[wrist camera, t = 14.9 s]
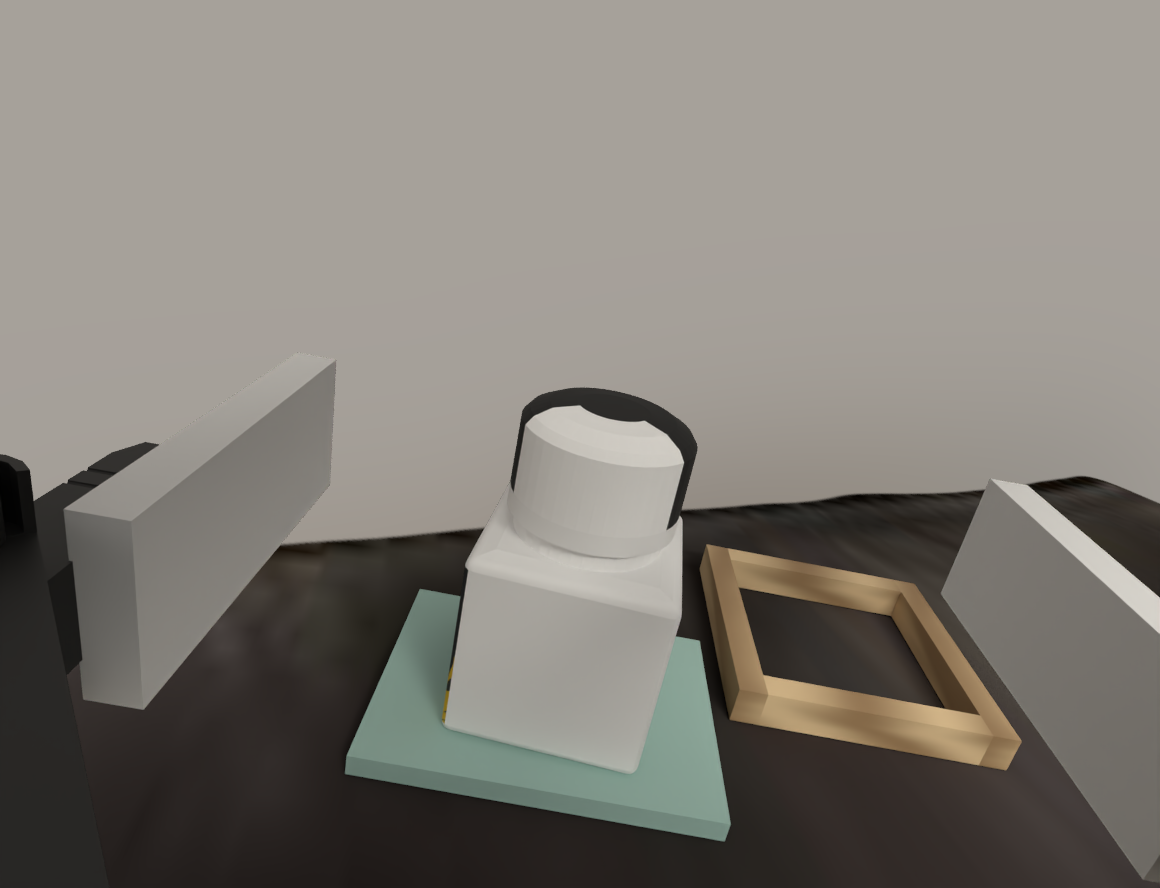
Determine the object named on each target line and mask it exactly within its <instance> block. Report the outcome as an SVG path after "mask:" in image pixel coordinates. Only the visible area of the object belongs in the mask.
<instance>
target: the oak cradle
mask: <svg viewBox="0 0 1160 888" xmlns="http://www.w3.org/2000/svg"><path fill="white" fill-rule="evenodd" d="M700 574H701V579H702V584H703V589H704V594H705V599H706V604H707V609H708V614H709V619H710V624H711V629H712V634H713V639H714V644H715V649H716V654H717V659H718V665H719V670H720V675H721V680H722V685H723V690H724V695H725V700H726V705H727V710H728V715H729V720H734V721H739V722H744V723H750V724H755V725H761V726H766V727H772V728H777V729H783V730H788V731H794V732H799V733H805V734H810V735H816V736H821V737H826V738H832V739H837V740H843V741H848V742H854V743H859V744H865V745H870V746H876V747H881V748H887V749H892V750H897V751H903V752H908V753H914V754H919V755H925V756H930V757H936V758H941V759H947V760H952V761H958V762H963V763H969V764H974V765H979V766H985V767H990V768H996V769H1001V770H1007V768H1008V766H1009V764H1010V762H1011V761H1012V759H1013V757H1014V755H1015V753H1016V751H1017V749H1018V748H1019V746H1020V744H1021V742H1022V741H1021V740H1020V738H1019V737H1018V735H1017V734H1016V732H1015V731H1014V729H1013V728H1012V726H1011V725H1010V723H1009V722H1008V720H1007V719H1006V718H1005V716H1004V715H1003V713H1002V712H1001V710H1000V709H999V707H998V706H997V704H996V703H995V701H994V700H993V698H992V697H991V695H990V694H989V693H988V691H987V690H986V688H985V687H984V685H983V684H982V682H981V681H980V679H979V678H978V676H977V675H976V673H975V672H974V671H973V669H972V668H971V666H970V665H969V663H968V662H967V660H966V659H965V657H964V656H963V654H962V653H961V651H960V650H959V649H958V647H957V646H956V644H955V643H954V641H953V640H952V638H951V637H950V635H949V634H948V632H947V631H946V629H945V628H944V627H943V625H942V624H941V622H940V621H939V619H938V618H937V616H936V615H935V613H934V612H933V610H932V609H931V607H930V606H929V605H928V603H927V602H926V600H925V599H924V597H923V596H922V594H921V593H920V591H919V590H918V588H917V587H916V585H915V584H913V583H907V582H902V581H897V580H891V579H886V578H881V577H876V576H870V575H865V574H860V573H855V572H849V571H844V570H839V569H834V568H828V567H823V566H818V565H813V564H807V563H802V562H797V561H791V560H786V559H781V558H776V557H770V556H765V555H760V554H755V553H749V552H744V551H739V550H734V549H728V548H723V547H718V546H712V545H706V548H705V552H704V555H703V558H702V562H701V565H700ZM739 587H740V588H745V589H750V590H756V591H761V592H766V593H772V594H777V595H782V596H787V597H793V598H798V599H803V600H809V601H814V602H819V603H825V604H830V605H835V606H841V607H846V608H851V609H856V610H862V611H867V612H872V613H878V614H883V615H888V616H891V617H892V618H893V620H894V622H895V623H896V625H897V627H898V629H899V630H900V632H901V634H902V635H903V637H904V639H905V641H906V642H907V644H908V646H909V647H910V649H911V651H912V652H913V654H914V656H915V658H916V659H917V661H918V663H919V664H920V666H921V668H922V670H923V671H924V673H925V675H926V676H927V678H928V680H929V681H930V683H931V685H932V687H933V688H934V690H935V692H936V693H937V695H938V697H939V699H940V700H941V702H942V704H943V705H944V707H945V709H942V708H937V707H932V706H926V705H921V704H915V703H910V702H905V701H899V700H894V699H888V698H883V697H878V696H872V695H867V694H861V693H856V692H851V691H845V690H840V689H834V688H829V687H824V686H818V685H813V684H807V683H802V682H797V681H791V680H786V679H780V678H775V677H770V676H764V675H763V673H762V670H761V666H760V662H759V659H758V655H757V652H756V648H755V645H754V641H753V637H752V634H751V630H750V627H749V623H748V619H747V616H746V612H745V609H744V605H743V601H742V598H741V594H740V591H739Z"/></svg>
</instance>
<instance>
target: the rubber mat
mask: <svg viewBox="0 0 1160 888" xmlns="http://www.w3.org/2000/svg"><path fill="white" fill-rule="evenodd" d="M459 602H460V596H455V595H450V594H445V593H439V592H434V591H429V590H423V589H420V590H419V592H418V595H417V597H416V599H415V601H414V604H413V606H412V608H411V610H410V613H409V615H408V617H407V620H406V622H405V624H404V626H403V629H402V631H401V633H400V635H399V638H398V640H397V642H396V645H395V647H394V649H393V651H392V654H391V656H390V658H389V661H388V663H387V665H386V667H385V670H384V672H383V674H382V676H381V679H380V681H379V683H378V686H377V688H376V690H375V692H374V695H373V697H372V699H371V701H370V704H369V706H368V708H367V711H366V713H365V715H364V717H363V720H362V722H361V724H360V726H359V729H358V731H357V733H356V736H355V738H354V740H353V742H352V745H351V747H350V749H349V751H348V754H347V757H346V767H345V774H348V775H354V776H360V777H365V778H371V779H377V780H382V781H388V782H393V783H399V784H405V785H410V786H416V787H421V788H427V789H433V790H438V791H444V792H450V793H455V794H461V795H466V796H472V797H478V798H483V799H489V800H494V801H500V802H506V803H511V804H517V805H523V806H528V807H534V808H539V809H545V810H551V811H556V812H562V813H567V814H573V815H579V816H584V817H590V818H596V819H601V820H607V821H612V822H618V823H624V824H629V825H635V826H640V827H646V828H652V829H657V830H663V831H669V832H674V833H680V834H685V835H691V836H697V837H702V838H708V839H714V840H719V841H725V839H726V836H727V833H728V831H729V828H730V825H731V823H730V817H729V811H728V805H727V800H726V794H725V788H724V782H723V776H722V770H721V764H720V758H719V752H718V747H717V741H716V735H715V729H714V723H713V717H712V711H711V705H710V700H709V694H708V688H707V682H706V676H705V670H704V664H703V658H702V652H701V647H700V641H697V640H692V639H687V638H681V637H675V640H674V644H673V647H672V651H671V654H670V658H669V661H668V665H667V668H666V672H665V675H664V679H663V682H662V686H661V689H660V693H659V696H658V699H657V703H656V706H655V710H654V713H653V717H652V720H651V724H650V727H649V731H648V734H647V738H646V741H645V745H644V748H643V752H642V755H641V758H640V762H639V765H638V768H637V769H636V771H635V772H634V773H632V774H625V773H621V772H617V771H613V770H609V769H605V768H601V767H597V766H593V765H589V764H585V763H581V762H577V761H573V760H569V759H565V758H561V757H557V756H553V755H549V754H545V753H541V752H537V751H533V750H529V749H525V748H521V747H517V746H513V745H509V744H505V743H501V742H497V741H493V740H489V739H485V738H481V737H477V736H473V735H469V734H465V733H461V732H457V731H453V730H449V729H447V728H445V727H444V725H443V723H442V714H443V708H444V701H445V694H446V688H447V681H448V675H449V668H450V662H451V655H452V648H453V642H454V635H455V629H456V622H457V616H458V609H459Z"/></svg>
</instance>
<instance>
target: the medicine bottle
mask: <svg viewBox="0 0 1160 888" xmlns="http://www.w3.org/2000/svg"><path fill="white" fill-rule="evenodd" d="M696 454H697V443H696V441H695V439H694V437H693V435H692V433H691V431H690V429H689V428H688V427H687V426H686V425H685V424H684V423H683V422H681V421H680V420H679V419H678V418H676V417H675V416H673V415H672V414H670V413H669V412H668V411H666V410H665V409H663V408H661V407H660V406H658V405H656V404H654V403H652V402H649V401H647V400H644V399H642V398H639V397H636V396H632V395H629V394H625V393H621V392H616V391H611V390H605V389H597V388H569V389H563V390H558V391H553V392H548V393H545V394H542V395H540V396H538V397H536V398H535V399H534V400H533V401H531V402H530V403H529V404H528V405H527V406H525V408H524V409H523V411H522V416H521V422H520V429H519V434H518V440H517V446H516V452H515V458H514V463H513V469H512V476H511V480H510V482H509V484H508V486H507V488H506V490H505V492H504V493H503V495H502V497H501V499H500V501H499V503H498V504H497V506H496V508H495V510H494V512H493V514H492V515H491V517H490V519H489V521H488V523H487V524H486V526H485V528H484V530H483V532H482V534H481V536H480V537H479V539H478V541H477V543H476V545H475V547H474V548H473V550H472V552H471V554H470V556H469V558H468V559H467V561H466V563H465V570H464V576H463V583H462V589H461V596H460V602H459V609H458V616H457V622H456V629H455V635H454V642H453V648H452V655H451V662H450V668H449V675H448V681H447V688H446V694H445V701H444V708H443V714H442V723H443V725H444V727H445V728H447V729H449V730H453V731H457V732H461V733H465V734H469V735H473V736H477V737H481V738H485V739H489V740H493V741H497V742H501V743H505V744H509V745H513V746H517V747H521V748H525V749H529V750H533V751H537V752H541V753H545V754H549V755H553V756H557V757H561V758H565V759H569V760H573V761H577V762H581V763H585V764H589V765H593V766H597V767H601V768H605V769H609V770H613V771H617V772H621V773H625V774H632V773H634V772H635V771H636V769H637V768H638V765H639V762H640V758H641V755H642V752H643V748H644V745H645V741H646V738H647V734H648V731H649V727H650V724H651V720H652V717H653V713H654V710H655V706H656V703H657V699H658V696H659V693H660V689H661V686H662V682H663V679H664V675H665V672H666V668H667V665H668V661H669V658H670V654H671V651H672V647H673V644H674V640H675V637H676V633H677V630H678V627H679V623H680V620H681V616H682V527H683V524H682V518H681V517H680V513H681V509H682V505H683V501H684V498H685V494H686V490H687V486H688V483H689V479H690V476H691V472H692V468H693V464H694V461H695V457H696Z"/></svg>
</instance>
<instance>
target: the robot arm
mask: <svg viewBox="0 0 1160 888" xmlns="http://www.w3.org/2000/svg"><path fill="white" fill-rule="evenodd" d="M335 374H336V359H330V358H324V357H319V356H314V355H308V354H303V353H296V354H294V355H293V356H291V357H290V358H288V359H287V360H285V361H284V362H282V363H281V364H279V365H278V366H276V367H275V368H273V369H272V370H270V371H269V372H267V373H266V374H264V375H263V376H261V377H260V378H259V379H257V380H255V381H254V382H252V383H251V384H250V385H248V386H246V387H245V388H243V389H242V390H241V391H239V392H238V393H236V394H235V395H233V396H232V397H230V398H229V399H227V400H226V401H224V402H223V403H221V404H220V405H218V406H217V407H215V408H214V409H212V410H211V411H209V412H208V413H206V414H205V415H203V416H202V417H200V418H199V419H198V420H196V421H194V422H193V423H191V424H190V425H188V426H187V427H185V428H184V429H182V430H181V431H179V432H178V433H176V434H175V435H173V436H172V437H170V438H169V439H167V440H166V441H164V442H163V443H161V444H160V445H159V444H153V443H147V442H144V443H142V444H138V445H135V446H132V447H128V448H125V449H122V450H119V451H115V452H112V453H111V454H109V455H107V456H106V457H104V458H102V459H101V460H99V461H98V462H96V463H94V464H93V465H91V466H90V467H88V470H87V471H82V472H80V473H78V474H77V475H75V476H73V477H72V478H70V479H69V480H68V483H67V484H65V483H62V484H61V485H59V486H57V487H56V488H54V489H53V490H51V491H49V492H48V493H46V494H45V495H43V496H41V497H40V498H38V499H37V500H35V501H33V492H32V485H31V476H30V470H29V468H28V467H27V466H26V465H25V464H24V462H23V461H20V460H18V459H15V458H12V457H10V456H7V455H1V454H0V888H109V883H108V878H107V873H106V868H105V863H104V858H103V853H102V848H101V843H100V838H99V833H98V828H97V824H96V819H95V814H94V809H93V804H92V799H91V794H90V789H89V784H88V779H87V774H86V769H85V765H84V760H83V755H82V750H81V745H80V740H79V735H78V730H77V725H76V720H75V715H74V710H73V705H72V701H71V696H70V691H69V686H68V681H67V676H66V675H67V674H68V673H69V672H70V671H71V670H72V669H73V668H74V667H75V666H77V665H78V664H80V674H81V683H82V693H83V700H89V701H95V702H101V703H106V704H112V705H118V706H124V707H130V708H136V709H142V710H144V709H145V707H146V706H147V705H148V704H149V703H150V701H151V700H152V699H153V698H154V696H155V695H156V694H157V693H158V692H159V690H160V689H161V688H162V687H163V686H164V684H165V683H166V682H167V681H168V680H169V678H170V677H171V676H172V675H173V674H174V672H175V671H176V670H177V669H178V668H179V666H180V665H181V664H182V663H183V662H184V660H185V659H186V658H187V657H188V655H189V654H190V653H191V652H192V651H193V649H194V648H195V647H196V646H197V645H198V643H199V642H200V641H201V640H202V639H203V637H204V636H205V635H206V634H207V633H208V631H209V630H210V629H211V628H212V627H213V625H214V624H215V623H216V622H217V621H218V619H219V618H220V617H221V616H222V614H223V613H224V612H225V611H226V610H227V608H228V607H229V606H230V605H231V604H232V602H233V601H234V600H235V599H236V598H237V596H238V595H239V594H240V593H241V592H242V590H243V589H244V588H245V587H246V586H247V584H248V583H249V582H250V581H251V579H252V578H253V577H254V576H255V575H256V573H257V572H258V571H259V570H260V569H261V567H262V566H263V565H264V564H265V563H266V561H267V560H268V559H269V558H270V557H271V555H272V554H273V553H274V552H275V551H276V549H277V548H278V547H279V546H280V545H281V543H282V542H283V541H284V540H285V538H286V537H287V536H288V535H289V534H290V532H291V531H292V530H293V529H294V528H295V526H296V525H297V524H298V523H299V522H300V520H301V519H302V518H303V517H304V516H305V514H306V513H307V512H308V511H309V510H310V508H311V507H312V506H313V505H314V503H315V502H316V501H317V500H318V499H319V497H320V496H321V495H322V494H323V493H324V491H325V490H326V489H327V488H328V487H329V485H330V472H331V471H330V470H331V451H332V432H333V413H334V394H335ZM941 595H942V596H943V598H944V599H945V601H946V602H947V604H948V605H949V606H950V608H951V609H952V611H953V612H954V613H955V615H956V616H957V618H958V619H959V621H960V622H961V623H962V625H963V626H964V628H965V629H966V630H967V632H968V633H969V635H970V636H971V637H972V639H973V640H974V642H975V643H976V645H977V646H978V647H979V649H980V650H981V652H982V653H983V654H984V656H985V657H986V659H987V660H988V662H989V663H990V664H991V666H992V667H993V669H994V670H995V671H996V673H997V674H998V676H999V677H1000V678H1001V680H1002V681H1003V683H1004V684H1005V686H1006V687H1007V688H1008V690H1009V691H1010V693H1011V694H1012V695H1013V697H1014V698H1015V700H1016V701H1017V703H1018V704H1019V705H1020V707H1021V708H1022V710H1023V711H1024V712H1025V714H1026V715H1027V717H1028V718H1029V719H1030V721H1031V722H1032V724H1033V725H1034V727H1035V728H1036V729H1037V731H1038V732H1039V734H1040V735H1041V736H1042V738H1043V739H1044V741H1045V742H1046V744H1047V745H1048V746H1049V748H1050V749H1051V751H1052V752H1053V753H1054V755H1055V756H1056V758H1057V759H1058V760H1059V762H1060V763H1061V765H1062V766H1063V768H1064V769H1065V770H1066V772H1067V773H1068V775H1069V776H1070V777H1071V779H1072V780H1073V782H1074V783H1075V785H1076V786H1077V787H1078V789H1079V790H1080V792H1081V793H1082V794H1083V796H1084V797H1085V799H1086V800H1087V802H1088V803H1089V804H1090V806H1091V807H1092V809H1093V810H1094V811H1095V813H1096V814H1097V816H1098V817H1099V818H1100V820H1101V821H1102V823H1103V824H1104V826H1105V827H1106V828H1107V830H1108V831H1109V833H1110V834H1111V835H1112V837H1113V838H1114V840H1115V841H1116V843H1117V844H1118V845H1119V847H1120V848H1121V850H1122V851H1123V852H1124V854H1125V855H1126V857H1127V858H1128V859H1129V861H1130V862H1131V864H1132V865H1133V867H1134V868H1135V869H1136V871H1137V872H1138V874H1139V875H1140V876H1141V878H1142V879H1143V880H1147V881H1153V882H1159V883H1160V598H1159V597H1158V596H1157V595H1156V594H1155V593H1154V592H1152V591H1151V590H1150V589H1149V588H1148V587H1146V586H1145V585H1144V584H1143V583H1142V582H1141V581H1139V580H1138V579H1137V578H1136V577H1135V576H1134V575H1132V574H1131V573H1130V572H1129V571H1128V570H1126V569H1125V568H1124V567H1123V566H1122V565H1121V564H1119V563H1118V562H1117V561H1116V560H1115V559H1114V558H1112V557H1111V556H1110V555H1109V554H1108V553H1106V552H1105V551H1104V550H1103V549H1102V548H1101V547H1099V546H1098V545H1097V544H1096V543H1095V542H1093V541H1092V540H1091V539H1090V538H1089V537H1088V536H1086V535H1085V534H1084V533H1083V532H1082V531H1081V530H1079V529H1078V528H1077V527H1076V526H1075V525H1073V524H1072V523H1071V522H1070V521H1069V520H1068V519H1066V518H1065V517H1064V516H1063V515H1062V514H1061V513H1059V512H1058V511H1057V510H1056V509H1055V508H1053V507H1052V506H1051V505H1050V504H1049V503H1048V502H1046V501H1045V500H1044V499H1043V498H1042V497H1041V496H1039V495H1038V494H1037V493H1036V492H1035V491H1033V490H1032V489H1031V488H1030V487H1029V486H1028V485H1023V484H1017V483H1012V482H1006V481H1001V480H995V479H990V480H989V482H988V485H987V487H986V489H985V492H984V494H983V496H982V499H981V501H980V503H979V506H978V508H977V510H976V513H975V515H974V517H973V520H972V522H971V524H970V527H969V529H968V531H967V533H966V536H965V538H964V540H963V543H962V545H961V547H960V550H959V552H958V554H957V557H956V559H955V561H954V564H953V566H952V568H951V571H950V573H949V575H948V578H947V580H946V582H945V585H944V587H943V589H942V592H941Z"/></svg>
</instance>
